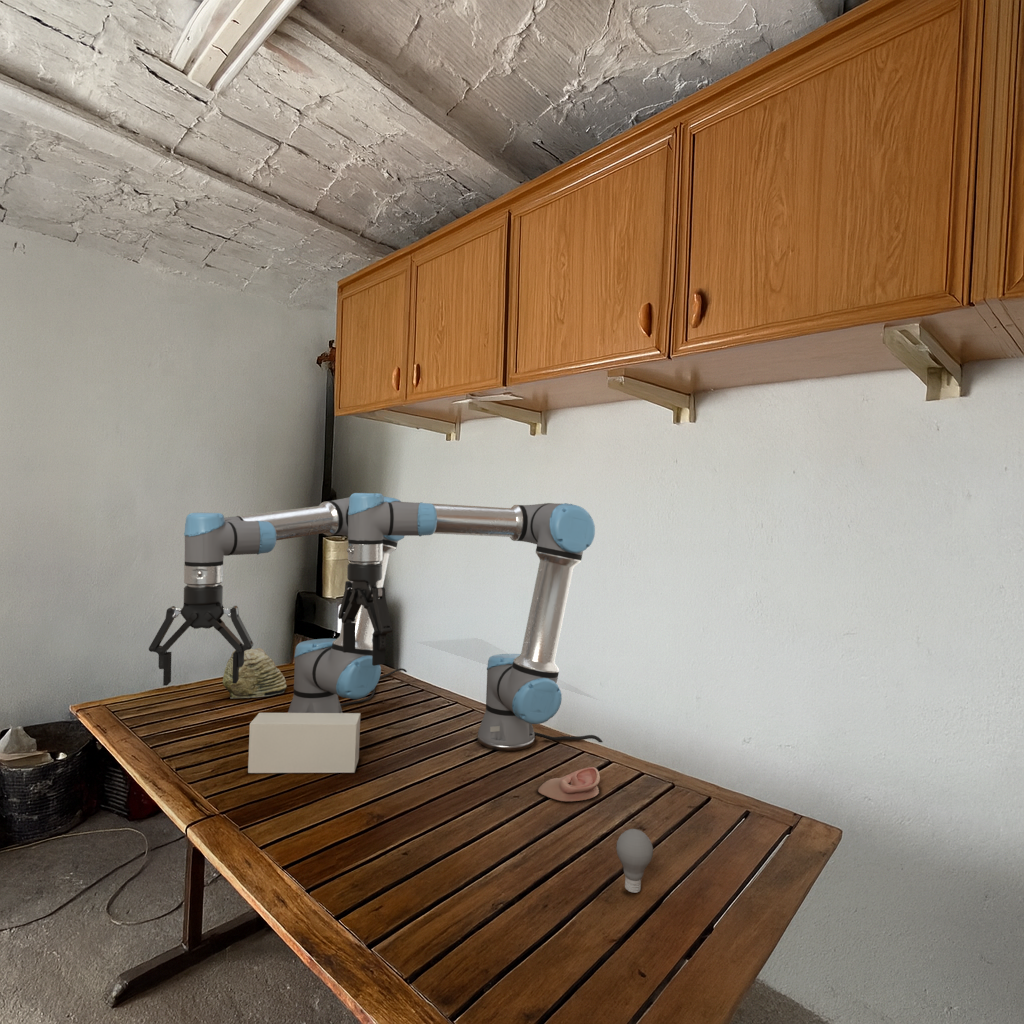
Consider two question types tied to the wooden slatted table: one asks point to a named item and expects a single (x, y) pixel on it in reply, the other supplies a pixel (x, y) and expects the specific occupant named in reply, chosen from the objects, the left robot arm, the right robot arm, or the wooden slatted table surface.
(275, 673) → the fossil
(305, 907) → the wooden slatted table surface
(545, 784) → the anatomical model
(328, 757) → the box
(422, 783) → the wooden slatted table surface
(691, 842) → the wooden slatted table surface
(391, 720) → the wooden slatted table surface
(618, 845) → the light bulb
